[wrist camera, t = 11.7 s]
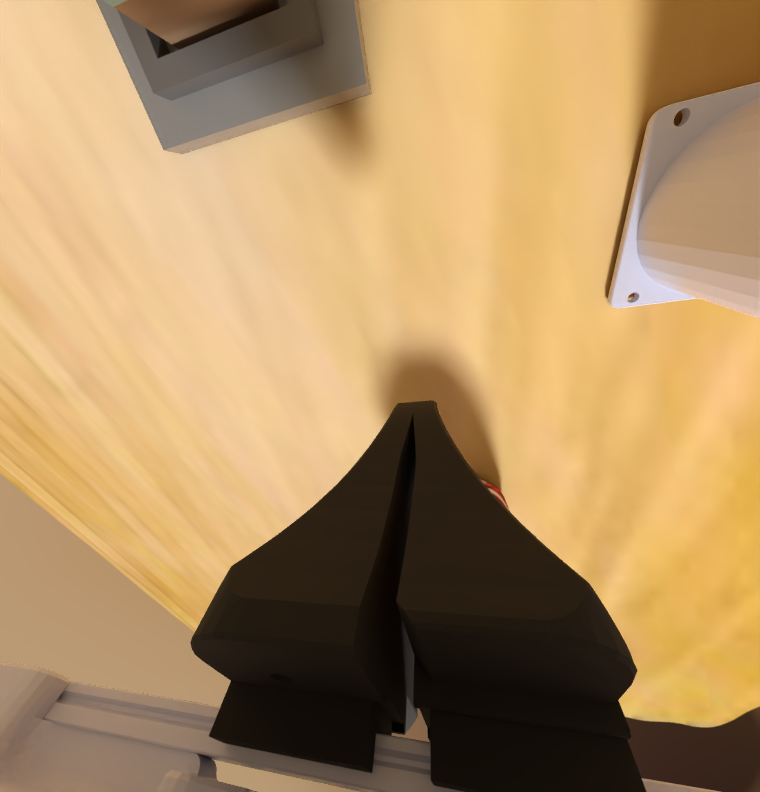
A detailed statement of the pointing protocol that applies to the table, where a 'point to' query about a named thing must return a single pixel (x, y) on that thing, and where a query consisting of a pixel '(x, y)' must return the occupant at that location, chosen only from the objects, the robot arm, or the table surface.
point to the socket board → (245, 71)
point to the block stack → (192, 16)
